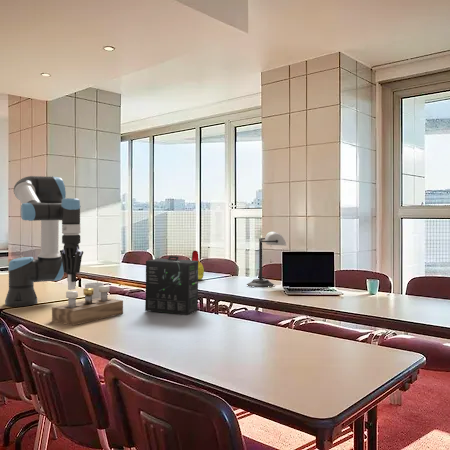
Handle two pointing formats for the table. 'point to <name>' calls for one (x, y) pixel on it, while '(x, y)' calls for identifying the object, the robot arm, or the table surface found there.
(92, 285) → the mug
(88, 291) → the pot knob
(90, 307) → the mount
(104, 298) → the knob far
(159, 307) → the headset box
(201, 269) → the bottle
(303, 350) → the table surface
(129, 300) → the table surface
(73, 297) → the knob near
